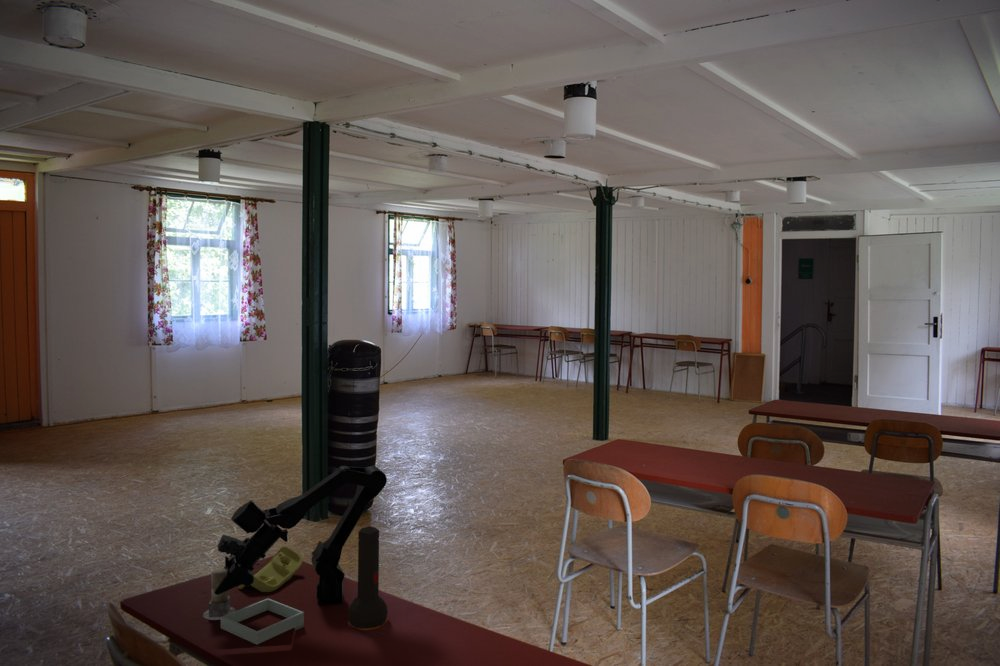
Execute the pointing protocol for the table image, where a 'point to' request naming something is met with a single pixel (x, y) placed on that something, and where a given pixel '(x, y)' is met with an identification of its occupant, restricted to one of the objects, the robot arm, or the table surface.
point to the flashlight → (368, 583)
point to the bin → (293, 620)
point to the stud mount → (206, 615)
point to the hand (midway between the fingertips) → (215, 590)
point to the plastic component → (277, 570)
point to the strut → (218, 602)
